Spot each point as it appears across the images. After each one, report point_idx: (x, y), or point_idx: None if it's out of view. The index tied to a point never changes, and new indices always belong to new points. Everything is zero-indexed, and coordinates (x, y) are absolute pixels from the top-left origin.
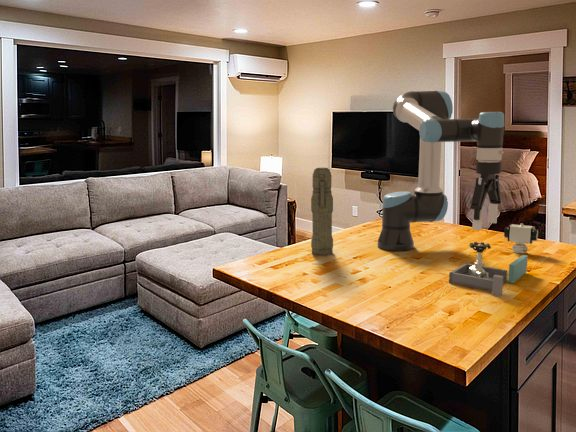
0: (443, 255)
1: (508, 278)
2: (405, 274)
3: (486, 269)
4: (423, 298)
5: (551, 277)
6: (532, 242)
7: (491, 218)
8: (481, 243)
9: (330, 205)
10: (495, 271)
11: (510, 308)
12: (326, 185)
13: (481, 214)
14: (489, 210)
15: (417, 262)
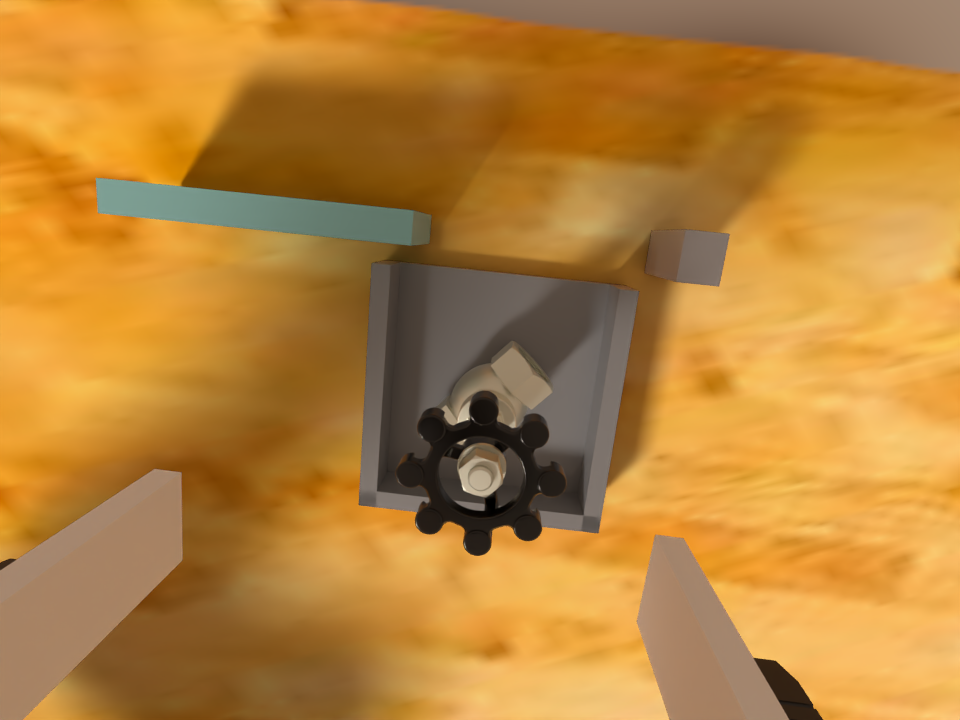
0: (126, 645)
1: (426, 243)
2: (562, 703)
3: (386, 379)
4: (883, 540)
5: (172, 38)
6: None
7: (145, 554)
8: (435, 477)
9: None
10: (388, 327)
11: (854, 147)
12: None
13: (775, 704)
14: (64, 664)
15: (334, 713)
